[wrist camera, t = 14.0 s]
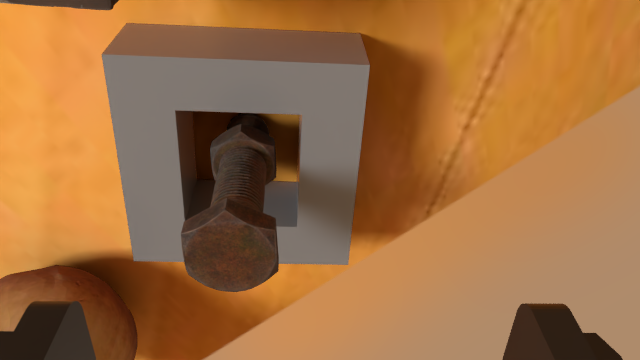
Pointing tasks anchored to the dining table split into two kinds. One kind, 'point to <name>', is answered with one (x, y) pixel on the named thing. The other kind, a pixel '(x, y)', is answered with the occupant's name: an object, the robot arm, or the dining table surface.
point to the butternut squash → (73, 285)
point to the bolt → (235, 212)
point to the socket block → (242, 97)
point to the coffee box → (68, 3)
